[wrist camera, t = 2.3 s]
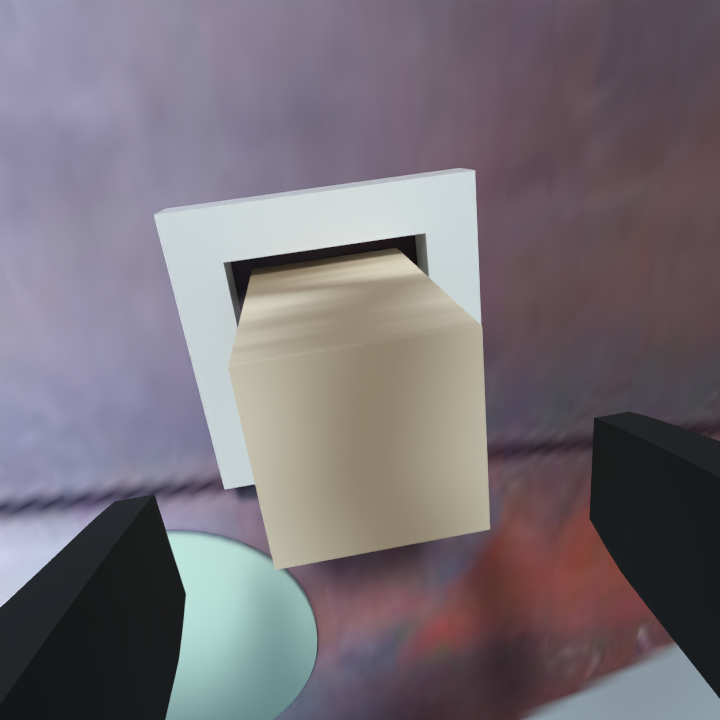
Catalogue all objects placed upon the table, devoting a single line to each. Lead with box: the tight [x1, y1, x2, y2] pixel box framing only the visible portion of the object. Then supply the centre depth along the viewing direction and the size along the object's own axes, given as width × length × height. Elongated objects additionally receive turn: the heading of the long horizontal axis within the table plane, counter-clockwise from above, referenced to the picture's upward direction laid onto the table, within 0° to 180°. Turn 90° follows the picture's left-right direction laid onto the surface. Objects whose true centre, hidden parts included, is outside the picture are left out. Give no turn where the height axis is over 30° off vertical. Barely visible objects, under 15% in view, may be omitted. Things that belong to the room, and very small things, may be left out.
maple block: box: [228, 248, 490, 570], centre depth 14 cm, size 4×4×8 cm
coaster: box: [165, 530, 317, 720], centre depth 21 cm, size 11×11×1 cm
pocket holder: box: [154, 168, 481, 489], centre depth 17 cm, size 9×9×2 cm
